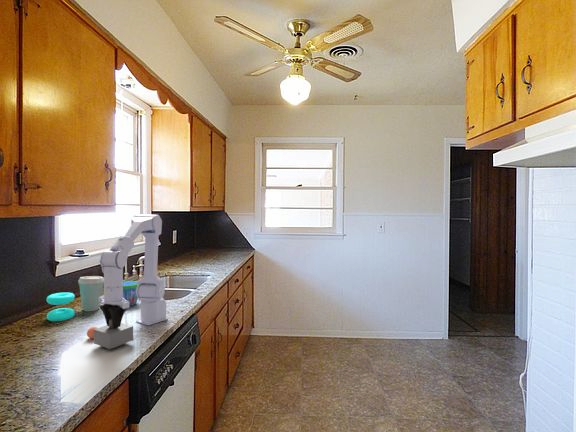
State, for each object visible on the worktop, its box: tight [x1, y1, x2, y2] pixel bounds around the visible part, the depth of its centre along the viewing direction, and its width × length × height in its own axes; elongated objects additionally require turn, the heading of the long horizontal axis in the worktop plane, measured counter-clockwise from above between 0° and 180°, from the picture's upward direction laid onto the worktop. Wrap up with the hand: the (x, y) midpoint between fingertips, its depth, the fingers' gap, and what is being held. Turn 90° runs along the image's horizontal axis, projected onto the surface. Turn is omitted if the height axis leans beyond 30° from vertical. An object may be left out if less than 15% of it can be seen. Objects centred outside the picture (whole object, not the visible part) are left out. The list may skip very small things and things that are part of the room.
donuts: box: [46, 292, 76, 322], centre depth 148 cm, size 10×10×10 cm
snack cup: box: [123, 280, 138, 307], centre depth 170 cm, size 16×10×10 cm
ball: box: [86, 326, 98, 340], centre depth 127 cm, size 4×4×4 cm
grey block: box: [93, 318, 134, 350], centre depth 120 cm, size 9×9×8 cm
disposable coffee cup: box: [77, 275, 104, 312], centre depth 161 cm, size 11×11×15 cm
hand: (113, 326), depth 120 cm, fingers closed on grey block, 3 cm apart
